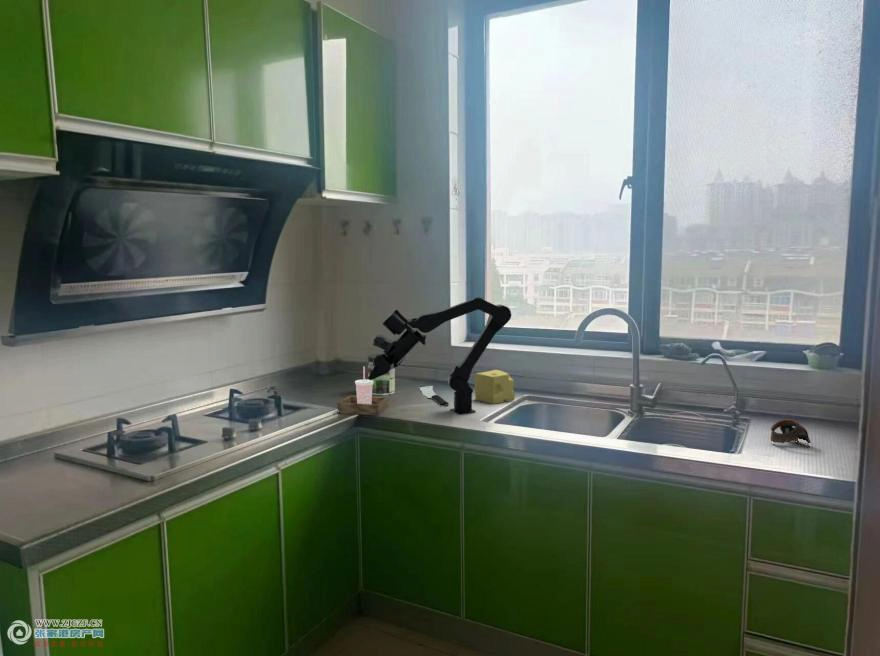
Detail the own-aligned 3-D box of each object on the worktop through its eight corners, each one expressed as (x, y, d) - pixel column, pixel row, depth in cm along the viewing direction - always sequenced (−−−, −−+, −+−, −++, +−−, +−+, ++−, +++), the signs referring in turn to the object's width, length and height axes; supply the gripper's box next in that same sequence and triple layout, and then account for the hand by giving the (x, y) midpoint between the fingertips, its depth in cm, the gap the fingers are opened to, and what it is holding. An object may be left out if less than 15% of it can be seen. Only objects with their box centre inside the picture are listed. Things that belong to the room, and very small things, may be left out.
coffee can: (378, 396, 235) (378, 358, 233) (362, 392, 242) (362, 355, 241) (400, 393, 241) (400, 356, 240) (384, 388, 249) (384, 352, 248)
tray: (388, 406, 219) (388, 397, 219) (378, 415, 207) (378, 405, 207) (349, 404, 222) (349, 395, 222) (337, 412, 210) (337, 403, 210)
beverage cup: (364, 404, 219) (364, 364, 217) (377, 407, 215) (377, 366, 213) (351, 407, 214) (350, 366, 213) (363, 410, 210) (363, 368, 209)
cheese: (514, 400, 230) (515, 373, 228) (492, 404, 223) (492, 376, 222) (495, 395, 238) (495, 369, 237) (473, 399, 231) (473, 372, 230)
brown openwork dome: (819, 453, 171) (808, 428, 169) (782, 465, 174) (771, 441, 172) (803, 430, 182) (793, 407, 180) (769, 442, 185) (758, 419, 183)
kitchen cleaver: (406, 387, 248) (431, 383, 251) (407, 392, 249) (431, 387, 251) (424, 406, 218) (452, 401, 221) (425, 411, 219) (453, 406, 221)
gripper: (395, 323, 219) (365, 355, 222) (379, 330, 201) (346, 364, 204) (418, 347, 218) (387, 378, 222) (403, 355, 200) (371, 389, 204)
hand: (373, 376), depth 213 cm, fingers open, 9 cm apart
